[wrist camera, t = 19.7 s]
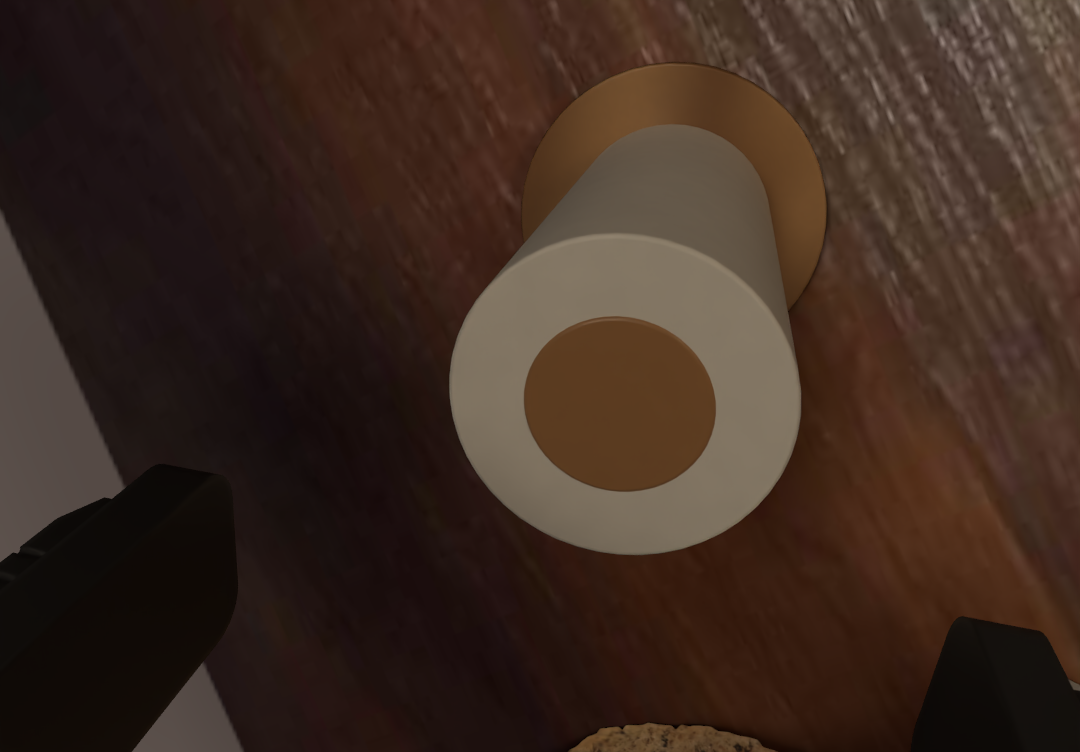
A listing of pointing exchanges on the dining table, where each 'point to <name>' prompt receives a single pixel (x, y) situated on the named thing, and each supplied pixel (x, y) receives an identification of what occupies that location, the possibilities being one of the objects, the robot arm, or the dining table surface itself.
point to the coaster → (704, 104)
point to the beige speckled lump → (667, 740)
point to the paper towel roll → (636, 353)
